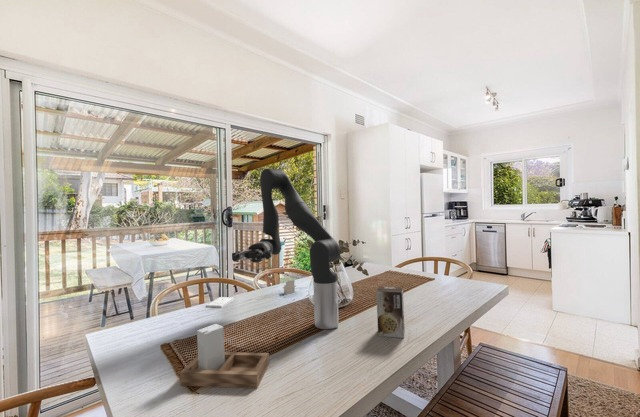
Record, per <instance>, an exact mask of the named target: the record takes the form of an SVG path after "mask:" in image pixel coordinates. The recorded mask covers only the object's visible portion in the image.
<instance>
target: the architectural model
mask: <svg viewBox="0 0 640 417" xmlns="http://www.w3.org/2000/svg"><path fill="white" fill-rule="evenodd" d="M296 287H297V286H296V284H295V279H288V280H286V281H285V284H284V285H283V286H282V289H283V294H284V295H287V296H288V295H291V294H295V293H296V292H295V288H296Z"/></svg>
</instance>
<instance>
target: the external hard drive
mask: <svg viewBox="0 0 640 417" xmlns="http://www.w3.org/2000/svg"><path fill="white" fill-rule="evenodd" d="M222 299H223V300H222ZM234 300H235V297H230V298H229V297H226V296H219V297H218V298H216V299H214V300H212V301H211V302H209V303H207V304H206V305H205V307H206V308H217V309H218V308H224V307H225V306H226V305H228V304H229V303H232V301H234Z"/></svg>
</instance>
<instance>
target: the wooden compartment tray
mask: <svg viewBox="0 0 640 417" xmlns="http://www.w3.org/2000/svg"><path fill="white" fill-rule="evenodd" d="M224 356H225V363H224V364H223V366H222V367H221V368H220V369H219V370H218V371H217V370H199V366H198V354H197V355H196V356H195V357H194V359H192V360H191V361H190V362H189V363H188V364H187V365H186V366H185V367H184V368H183V369H182V370H181V371H180V372H179V380H180V382H179V383H180V387H204V388H205V387H206V388H207V387H209V388H237V389H239V388H240V389H241V388H242V389H258V388H259V386H260V384H261V381H262V380H263V378H264V376H265V374H266V373H267V370H268V368H269V366H270V353H269V352H241V351H240V352H237V351H235V352H234V351H233V352H232V351H224Z"/></svg>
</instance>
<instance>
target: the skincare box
mask: <svg viewBox="0 0 640 417" xmlns="http://www.w3.org/2000/svg"><path fill="white" fill-rule="evenodd" d="M224 335H225V334H224V326H222V325H220V324H217V323H214V324H211V325H209V326H206V327H203V328H200V329H198V330H196V337H197V338H196V339H197V343H196V344H197V355H198V366H199V370H217V371H218V370H219V369H220V368H221V367H222V366H223V364H224V363H225V356H224V352H225V336H224Z"/></svg>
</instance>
